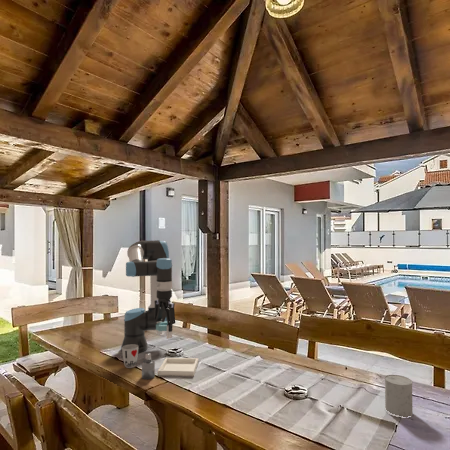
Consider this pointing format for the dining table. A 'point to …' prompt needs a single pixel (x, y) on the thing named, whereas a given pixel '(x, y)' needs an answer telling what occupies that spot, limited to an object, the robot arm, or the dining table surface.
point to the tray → (178, 367)
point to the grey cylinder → (398, 395)
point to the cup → (130, 355)
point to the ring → (161, 326)
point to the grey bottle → (148, 368)
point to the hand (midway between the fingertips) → (164, 336)
